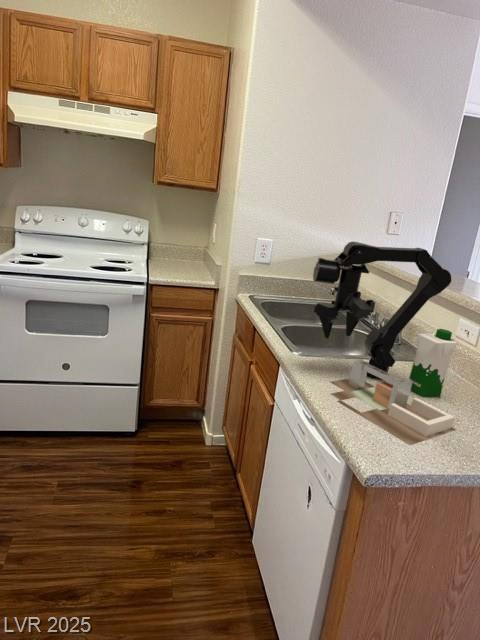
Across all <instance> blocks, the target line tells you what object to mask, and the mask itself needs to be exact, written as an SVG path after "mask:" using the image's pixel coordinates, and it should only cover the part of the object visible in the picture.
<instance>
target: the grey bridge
mask: <svg viewBox="0 0 480 640" xmlns="http://www.w3.org/2000/svg"><path fill="white" fill-rule="evenodd" d="M367 372H369V373H371V374H373V375H375V376H377V377H379V378H381V379H380V380H383V381H387V382H389V383H391V384H393V388H392V392H391V396H390V400H389V404H388V408H387V409H388V410H389V408H390V404H393V403H395V404H397V405H398V406H400V407H402V408H406V405H407V404H408V401H409V397H410V393H411V386H412V382H413V381H410V380H409V378H407V379H401V378H400V377H397V376H396V375H393V374H391V373H389V372H388V373H387V372H385V371H383V370H381V369H378V368H376V367H374V366H372V365H370V364H369V362H367V361H365V360H363V359H355V360H353V363H352V368H351V371H350V377H349V378H350V380H349V386H351V387H353V388H355V389H356V390H357V389H362V388H364V384H365V382H366V379H367V376H366V375H367Z"/></svg>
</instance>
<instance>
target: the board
mask: <svg viewBox="0 0 480 640" xmlns="http://www.w3.org/2000/svg"><path fill="white" fill-rule="evenodd" d="M349 380H350V377H349V378H344V379H343V378H342V379H337V380H332V381H329V383H331V384H332V385H335V386H336V387H337V388H340V389H341V390H342V391H336V392H331V393H330V395H331V396H333V397H334V398H336V399H338V400H337V401H336V402H337V403H339V404H341V405H342V406H344V407H346V409H347V408H348V409H349V410H351V411H352V412H354V413H355V414H357V415H359V416H361V417H362V418H363V419H365V420H367V421H369V422H371V423H372V424H374V425H375V426H377V427H378V428H381V429H382V430H384V431H386V432H387V433H389V434H390V435H392V436H394V437H395V438H397V439H399V440H400V441H402V442H403V443H405V444H407V445H409V446H412V445H413V446H414V445H415V444H418V443H422V442H424V441H427V440H430V439H433V438H436V437H439V436H442V435H445V434H448V433H451V432H455V431H457V429H456V428H454V427H452V428H451V429H447V430H444V431H441V432H438V433H435V434H432V435H429V436H424V435H422V434H420V433H419V432H417V431H415V430H413V429H412V428H410V427H408V426H406V425H405V424H403V423H401V422H399V421H397V420H396V419H394V418H392V417H390V416H389V415H388V412H389V410H388V409H387V408H386V407H384V406H382V405H380V404H379V403H377V402H375V401H373V397H374V393H375V388H376V386H374V385H372V384H370V383H368V382H367V381H365V384H364V388H362V389H357V390H356V389H355V388H353V387H351V386H349ZM355 398H357V399H358V400H360V401H362V402H364V403H366V404H368V405H369V406H371V407H373V408H374V409H371V410H370V409H369V410H365V411H359V410H358V409H357V408H354V407H353V406H351V405H350V404H348V403H346V402H344V400H349V399H355ZM411 405H412V404H408V403H407V405H406V408H404V409H406V410H408V411H410V412H411V413H413V414H415V415H417V416H419V417H421V418H422V419H424V420H426V421H429V420H430V419H428V418H426V417H424V416H423V415H421V414H419V413H417V412H415V411H413V410H411Z"/></svg>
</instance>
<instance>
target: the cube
mask: <svg viewBox="0 0 480 640" xmlns="http://www.w3.org/2000/svg"><path fill="white" fill-rule="evenodd" d="M375 387H376V388H375V393H374V397H373V401H375V402H377V403H379V404H380V405H382V406H384V407H386V408H388V404H389V400H390V396H391V392H392V388H393V384H391V383H389V382H387V381H385V380H383V381H381V382H377V383H376V386H375Z"/></svg>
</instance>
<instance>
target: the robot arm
mask: <svg viewBox="0 0 480 640" xmlns="http://www.w3.org/2000/svg"><path fill="white" fill-rule="evenodd" d="M342 250H343V251H342V252H341V253H340V254H339V255H337V257H336V258H335V259H326V258H323V257H318V258H317V261H316V264H315V266H314V268H313V275H312V281H313V282H315V283H323V284H330V285H334V284H335V283H338V284H337V285H338V286H334V289H333V290H334V291H335V292H336V294H335V295H336V296H335V299H334V300H331V302H330V303H331V304H330V303H327V302H318V303H316V304H315V305H314V309H313V313H315V314H316V316H318V318H319V320H320V324H321V328H322V331H323V335H324V338H325V339H327V340H328V339H329V338H330V335H331V332H332V330H333V329H332V328H333V324H334V323H335V322H336V321H337V320H338V315H339V313H340V314H341V313H346V314H345V317H346V318H345V319H346V321H345V336H346V337H350V336H351V335H352V333H353V332H354V330H355V328H356V326H357V325H358V323H360V321H362V320H364V319H366V318H368V316H371V314H372V313H374V310H375V304H376V301H374V300H373V299H367V300H365V299H362V298H361V295H362V294H361V291H359V287H360V282H361V278H362V273H363V274H366V275H367V274H370V270H369V269H368V268H367V266H366V264H371V263H375V262H393V263H394V262H395V263H396V262H398V263H399V262H400V263H414V264H415V265H416V267H417V268H418V271H420V273H421V275H420V277H419V278H418V280H417V285H416V286H415V289H414V290H413V292H412V293H411V294H410V295H409V297H408V298H406V300H405V301H404V302H403V304H401V306H400V307H399V308H398V309H397V310H396V311H395V313H394V314H393V315H392V316H391V317H390V318H389V320H387V322H386V323H385V324H384V325H383V326H382V327H379V328H377V327H376V326H374V327H373V328H371V330H370V332H369V333H368V334H366V335H365V337H366V338H365V340H364V347H365V350H366V351H367V352H368V356H369V357H370V358H369V360H368V363H369V364H370V365H372V366H374V367H376V368H378V369H381V370H383V371H385V372H387V373H389V369H390V368H392V367H393V366H394V365H395V363H396V360H395V358H394V357H393V356H392V354H391V351H392V350H393V348H394V346H395V343H396V339H397V337H398V335H400V333H401V332H402V330H404V329H405V328H406V326H407V325H408V324H409V322H410V321H411V320H412V319H414V317H415V316H416V314H418V312H419V311H420V310H421V309H422V308H423V307H424V306H425V304H426V303H427V302H428V301H429V300H430V299H431V298H433V297H435V296H437V295H440V294H441V293H442V292H443V291H444V290H445V289H447V287H449V286H450V284H451V283H452V274H451V273H450V271H449V270H447V269H445V268H443V267H442V266H441V265H440V264H439V262H437V261H436V260H435V258H434V257H432V256H431V254H430V253H429V251H428V250H427V249H424V248H421V247H415V248H412V247H394V246H393V247H392V246H391V247H389V246H376V245H375V246H374V245H371V244H367V243H363V242H359V241H350V242H348V243H347V244H346V245H345V246H344V247H343V249H342ZM366 377H367V378H370V379H371V380H373V379H374V380H376V379H377V380H382V379H381V378H379V377H377V376H375V375H373V374H371V373H369V372H367V375H366Z"/></svg>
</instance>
